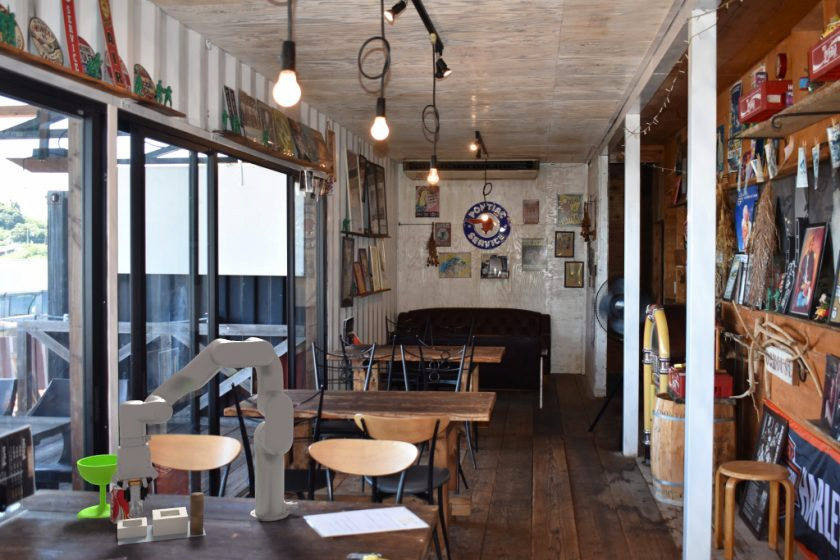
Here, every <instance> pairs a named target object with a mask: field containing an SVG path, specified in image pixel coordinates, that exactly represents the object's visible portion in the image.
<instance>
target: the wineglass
mask: <svg viewBox="0 0 840 560" xmlns="http://www.w3.org/2000/svg"><path fill="white" fill-rule="evenodd" d="M76 465H77V466H76V467H77V471H78V473H79V475H80V476H81V477H82V478H83V480H84V481H86V482H88V483H90V484H91V485H97V486H99V504H97V505H93V506H90V507H89V506H88V507H86V508H84V509H81V510H80V511H79V512H78V513H77V515H76V519H85V518H86V519H103V518H104V519H105V518H110V503H107V486H108V485H110V484H111V483H112V482H111V481H110V479H111V477H112V476H113V474H114V473H115V471H116V469H117V454H99V455H91V456H87V457H84V458H81V459H79V460H77V461H76ZM117 479H118V478H117ZM118 480H119V479H118ZM112 484H113V483H112Z"/></svg>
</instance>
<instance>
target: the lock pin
mask: <svg viewBox="0 0 840 560" xmlns="http://www.w3.org/2000/svg"><path fill="white" fill-rule="evenodd" d="M127 484H128V492H129V514H130V515H133V516H134V515H135V516H136V515H141V514H142V513H144V506H143V505H144V504H143V503H144V502H143V500H142V484H143V482H142V478H139V479H130V480H128V483H127Z"/></svg>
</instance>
